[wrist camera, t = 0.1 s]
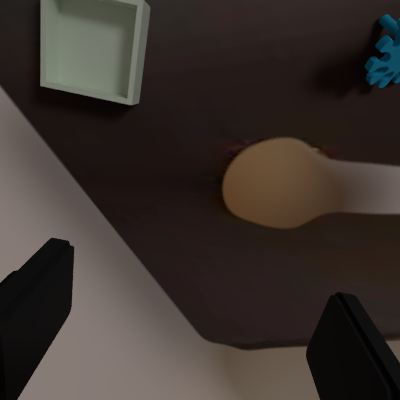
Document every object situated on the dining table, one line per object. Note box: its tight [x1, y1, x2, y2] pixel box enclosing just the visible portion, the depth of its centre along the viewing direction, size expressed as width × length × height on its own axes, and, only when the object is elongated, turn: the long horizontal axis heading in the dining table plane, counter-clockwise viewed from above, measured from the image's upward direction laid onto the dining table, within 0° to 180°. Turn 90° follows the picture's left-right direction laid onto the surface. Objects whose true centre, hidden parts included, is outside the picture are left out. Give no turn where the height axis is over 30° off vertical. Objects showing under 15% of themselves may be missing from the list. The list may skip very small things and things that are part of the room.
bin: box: [40, 0, 150, 105], centre depth 35 cm, size 11×11×4 cm
